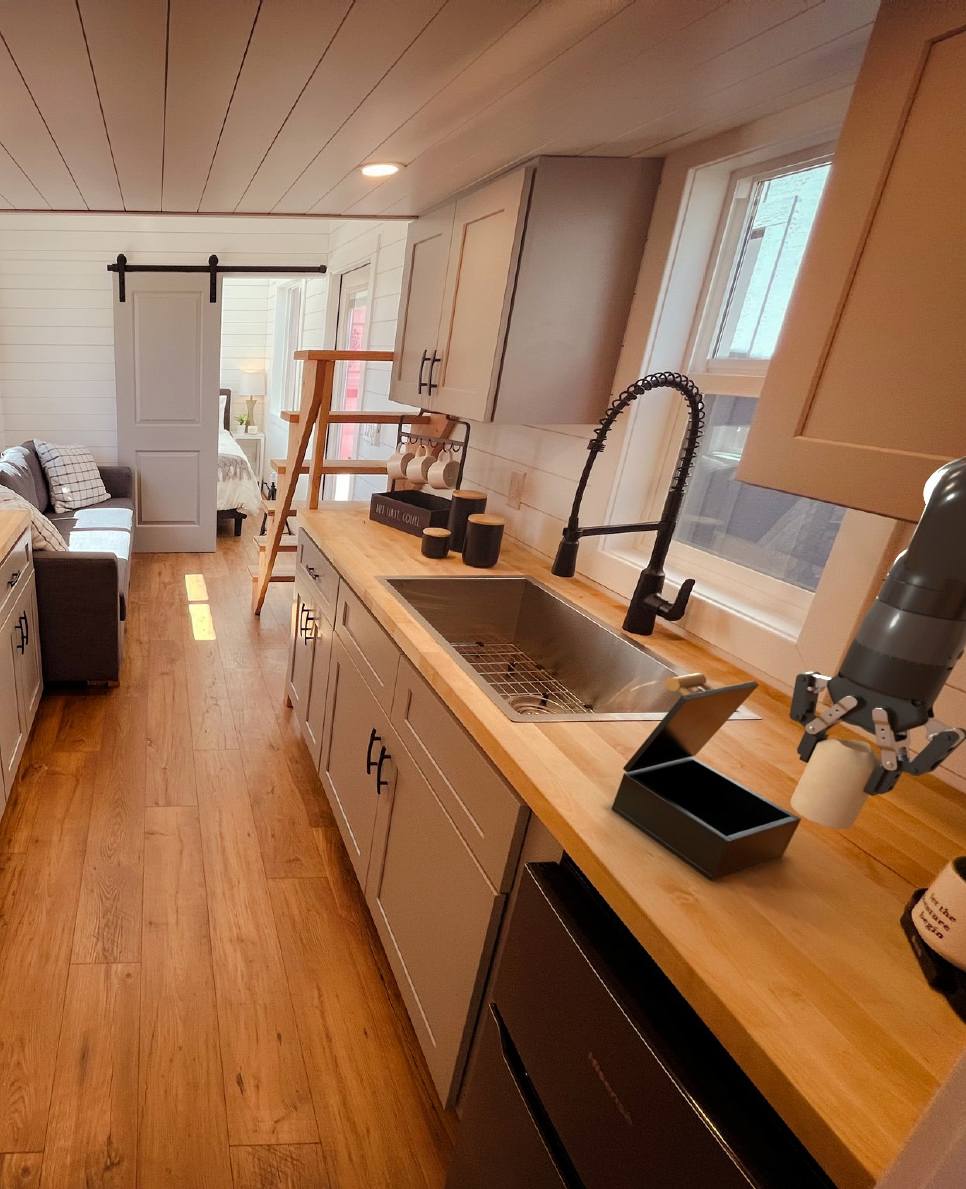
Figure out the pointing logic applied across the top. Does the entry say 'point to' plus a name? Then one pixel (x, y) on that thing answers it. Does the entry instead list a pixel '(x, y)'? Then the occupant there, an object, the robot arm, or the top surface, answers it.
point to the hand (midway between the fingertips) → (839, 775)
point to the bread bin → (704, 817)
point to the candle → (835, 782)
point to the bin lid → (689, 720)
